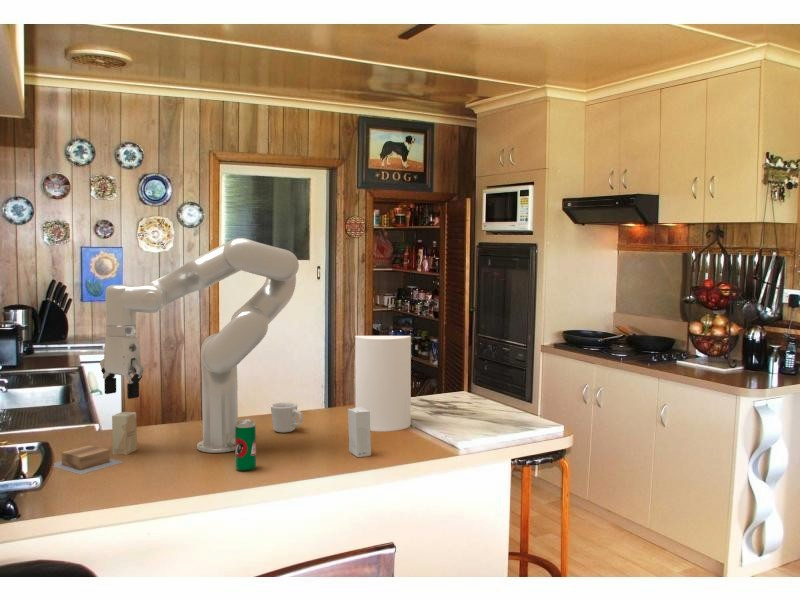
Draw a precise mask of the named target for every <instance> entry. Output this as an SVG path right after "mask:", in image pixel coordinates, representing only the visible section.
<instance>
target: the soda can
mask: <svg viewBox="0 0 800 600" xmlns="http://www.w3.org/2000/svg"><path fill="white" fill-rule="evenodd" d="M236 423H237V424H236V426H235V450H234V452H235V468H236V470H237V471H239V472H250V471H253V470H255V469H256V467H257V425H256V423H255V421H254V420H252V419H241V420H238V421H237V422H236Z"/></svg>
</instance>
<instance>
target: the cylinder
mask: <svg viewBox="0 0 800 600" xmlns="http://www.w3.org/2000/svg"><path fill="white" fill-rule="evenodd" d="M354 346H355V350H354V351H355V353H354V354H355V355H354V357H355V365H354V366H355V370H354V372H355V379H354V380H355V382H354V383H355V408H357V407H362V408H364V409H366V410H368V411H370V432H371V431H372V432H395V431H402V430H405V429H407V428H409V427H411V420H412V417H411V416H412V414H411V413H412V411H411V406H412V404H411V403H412V402H411V401H412V398H411V397H412V396H411V393H412V392H411V389H412V388H411V387H412V386H411V384H412V381H411V380H412V379H411V378H412V376H411V375H412V370H411V369H412V365H411V364H412V361H411V360H412V359H411V358H412V351H411V350H412V347H411V346H412V336H411V335H355V344H354Z"/></svg>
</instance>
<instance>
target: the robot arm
mask: <svg viewBox="0 0 800 600" xmlns="http://www.w3.org/2000/svg"><path fill="white" fill-rule="evenodd" d="M299 265H300V263H299V259H298V258H297V256H296V254H295V253H293V252H291V251H290V250H287V249H284V248H280V247H276V246H272V245H269V244H265V243H262V242H258V241H255V240H251V239H249V238H245V237H237V238H233V239H231V240H229V241H227V242H225V243H222V244H221V245H219V246H217V247H215V248H213V249H211V250H209V251H207V252H205V253H203V254H201V255H199V256H197V257H195V258H193V259H191V260H189V261H187V262H186V263H184V264H183V265H182V266H180V267H178V268H177V269H175V270H173V271H170V272H169V273H166V274H165V275H163V276H161V277H159V278H157V279H155V280H153V281H151V282H148V283H147V284H145V285H137V286H134V285H132V284H111V285H108V286H107V287H106V288H105V341H104V349H103V350H104V352H103V353H104V354H103V359H101V360H100V361H99V365H100V368H101V370H100V371H101V373H102V378H103V379H104V381H103V382H104V394H105V395H110V394H111V395H112V394H116V393H117V377H116V375H117V376H125V377H126V379H127V381H128V383H126V388H127V391H126V393H127V397H126V398H127V399H128V400H130V399H137V398H139V397H140V383H141V380H142V378H143V375H144V371H145V367H144V366H143V365H142V359H141V358H142V357H141V348H140V347H141V346H140V342H139V338H138V336H137V313H142V314H143V313H145V314H155V313H158V312H159V311H161V310H162V309H164V307H165V306H167V305H169V304H171V303H173V302H175V301H177V300H179V299H181V298H183V297H184V296H187V295H189V294H191V293H195V292H198V291H199V292H200V291H203V290H205V289H208V288H209V287H211V286H213V285H215V284H217V283H219V282H221V281H223V280H225V279H226V278H229V277H231V276H232V275H235V274H236V273H239V272H241V271H242V272H244V273H245V272H246V273H249V274H253V275H256V276H260V277H265V278H266V280H264V281H265V282H264V283H263V284H262V286H261V287H260V288H259V289H258V290H257V291H256V292H255V293H254V295H253V296H252V297H250V299H249V300H247V301H246V302H245V303H244V304H243V305H242V306H241V307H240V308H238V309H237V310H235V312H234V314H232V316H231V319H230V320H229V322H228V323H226V325H224V327H223V328H222V329H220V331H219V332H218V333H217V332H215V333H213V334H210V335H209V336H207V337H206V338H205V340H204V341H203V342H202V344H201V347H200V362H201V363H200V364H201V366H200V367H201V405H202V406H201V412H202V418H201V419H202V440H201V441H199V442H197V444H196V446H197V447H196V449H197V450H198V451H200V452H203V453H210V454H212V453H214V454H216V453H217V454H218V453H220V454H221V453H229V452H235V426H236V424H237V423H236V422H237V421H239V410H238V408H239V407H238V406H239V405H238V403H239V402H238V390H239V389H238V386H239V384H238V365H239V364H240V363H241V362H242V361H243V360H244V359H245V358H246V357H247V356H248V355H249V354H250V353H251V352H252V351H253V350H254V349H255V348H257V346H258V345H259V344H260V343H261V342H262V341H263V340H264V338H265V337H266V335H267V333H268V330H269V324H270V323H271V322H272V321H274V319H275V318H276V317H277V316H278V315H279V314H280V313H281V312H282V311H283V310H284V308H286V306H287V305H288V303H289V302H290V301H291V299H292V298H293V295H294V292H295V290H296V283H297V276H296V275H297V273H298V272H299V268H300V267H299Z"/></svg>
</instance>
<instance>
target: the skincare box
mask: <svg viewBox="0 0 800 600" xmlns="http://www.w3.org/2000/svg"><path fill="white" fill-rule="evenodd" d="M347 420H348V423H347V425H348V447H349V449H348V450H349V453H350V454H352V455H353V456H355V457H356V458H364V457H370V456H371V455H372V441H371V440H372V439H371V436H372V435H371V431H370V411H368V410H366V409H364V408H362V407H357V408H356V407H352V408H351V407H350V408H347Z"/></svg>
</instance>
